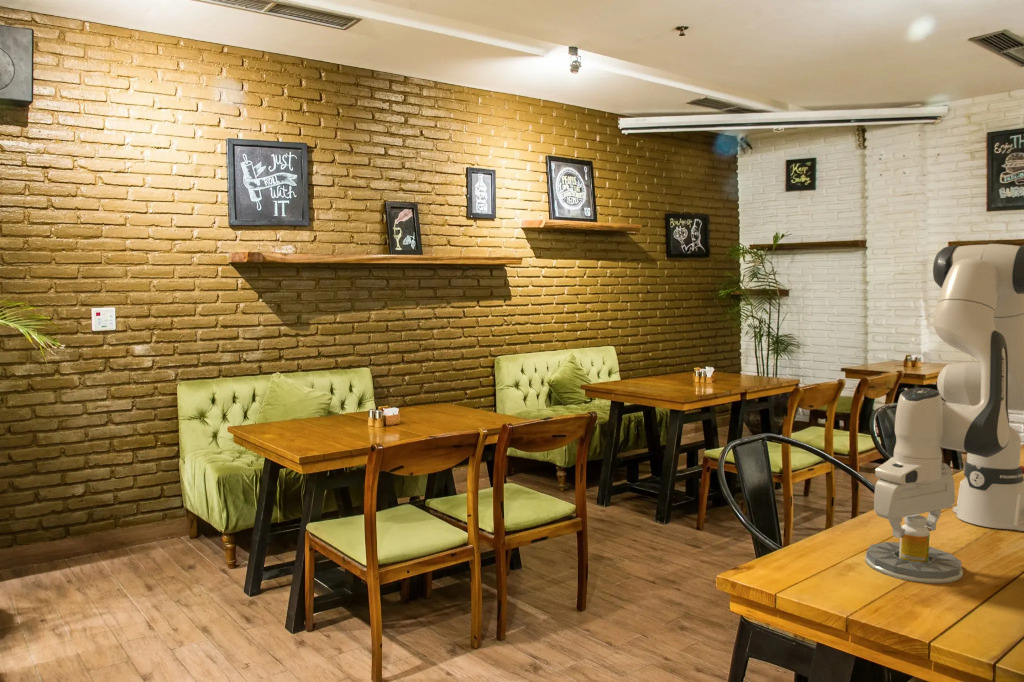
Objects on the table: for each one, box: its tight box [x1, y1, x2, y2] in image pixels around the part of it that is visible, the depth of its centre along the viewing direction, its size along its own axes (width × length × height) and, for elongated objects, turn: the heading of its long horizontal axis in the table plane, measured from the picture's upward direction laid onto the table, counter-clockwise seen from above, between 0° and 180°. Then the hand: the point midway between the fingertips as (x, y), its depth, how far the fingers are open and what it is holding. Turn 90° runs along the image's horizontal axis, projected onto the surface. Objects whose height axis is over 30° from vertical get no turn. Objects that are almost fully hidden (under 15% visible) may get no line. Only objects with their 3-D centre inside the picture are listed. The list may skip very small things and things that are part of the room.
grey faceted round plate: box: [864, 541, 964, 584], centre depth 161 cm, size 18×18×2 cm
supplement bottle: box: [899, 514, 931, 562], centre depth 161 cm, size 5×5×10 cm
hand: (914, 533), depth 161 cm, fingers open, 8 cm apart
